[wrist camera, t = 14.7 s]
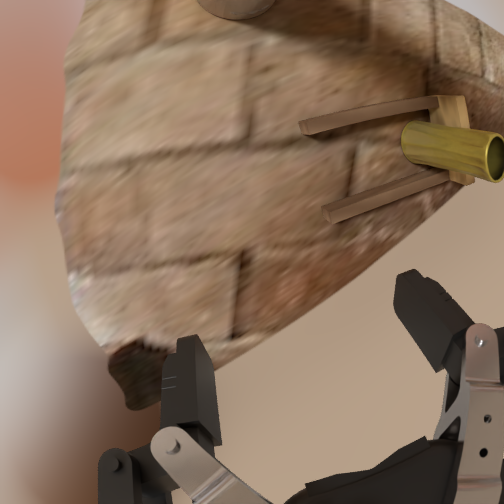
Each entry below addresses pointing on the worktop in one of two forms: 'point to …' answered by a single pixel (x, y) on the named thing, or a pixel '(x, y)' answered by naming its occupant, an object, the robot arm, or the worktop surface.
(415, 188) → the track
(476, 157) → the vase
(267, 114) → the worktop surface
